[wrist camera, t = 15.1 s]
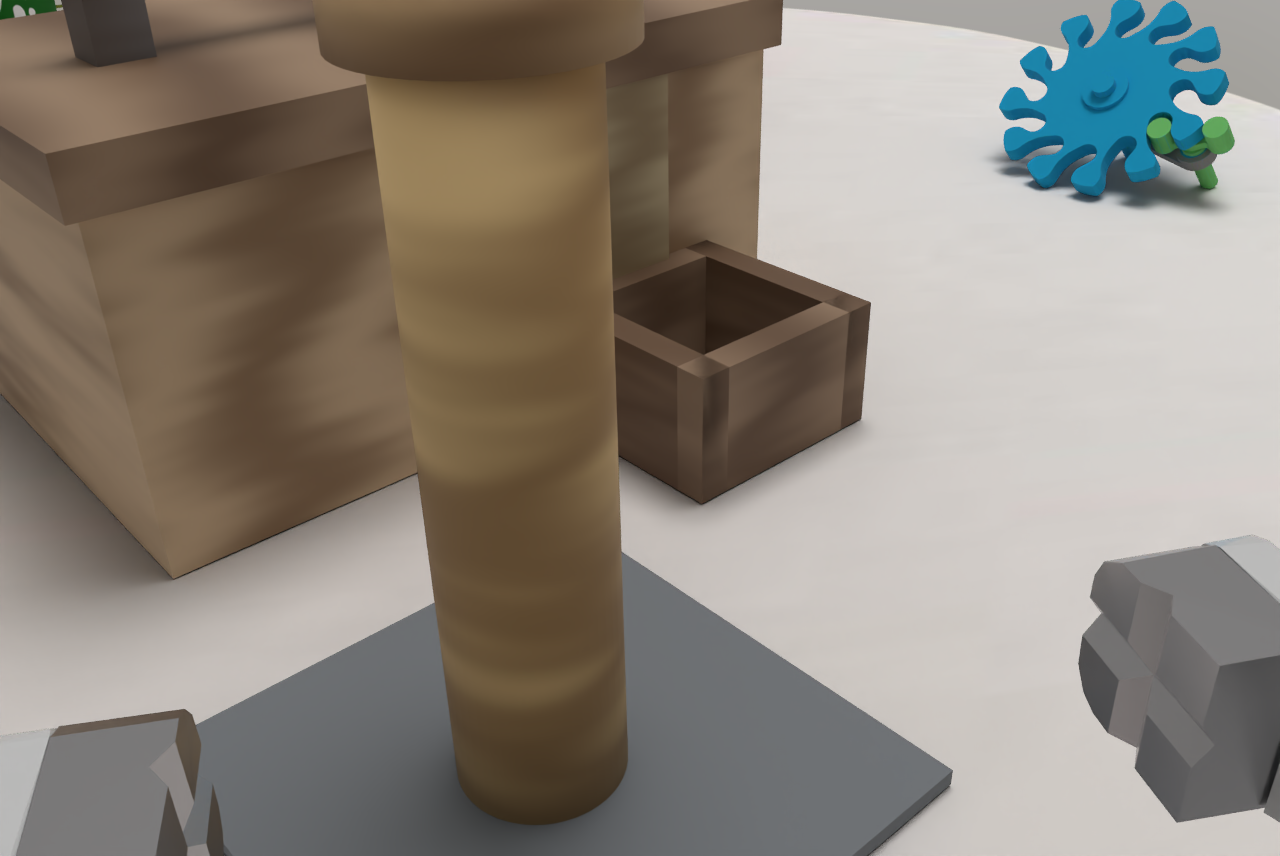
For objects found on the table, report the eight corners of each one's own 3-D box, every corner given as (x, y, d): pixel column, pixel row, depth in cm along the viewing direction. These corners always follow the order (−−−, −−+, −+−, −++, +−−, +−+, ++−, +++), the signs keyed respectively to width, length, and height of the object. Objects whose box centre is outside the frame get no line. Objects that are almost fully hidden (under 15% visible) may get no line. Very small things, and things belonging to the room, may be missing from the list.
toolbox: (287, 726, 27) (111, -55, 19) (-17, 392, 41) (-195, -142, 33) (917, 388, 40) (978, -165, 32) (524, 220, 54) (495, -195, 46)
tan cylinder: (520, 891, 23) (429, 2, 15) (384, 753, 26) (246, -44, 18) (704, 762, 26) (712, -49, 17) (561, 651, 29) (511, -81, 21)
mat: (477, 1190, 19) (474, 1175, 18) (155, 761, 26) (151, 748, 26) (951, 784, 25) (953, 770, 25) (584, 538, 33) (583, 526, 33)
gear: (952, 128, 59) (1092, -38, 58) (994, 190, 64) (1125, 37, 62) (1132, 226, 52) (1297, 38, 51) (1166, 289, 56) (1318, 117, 55)
